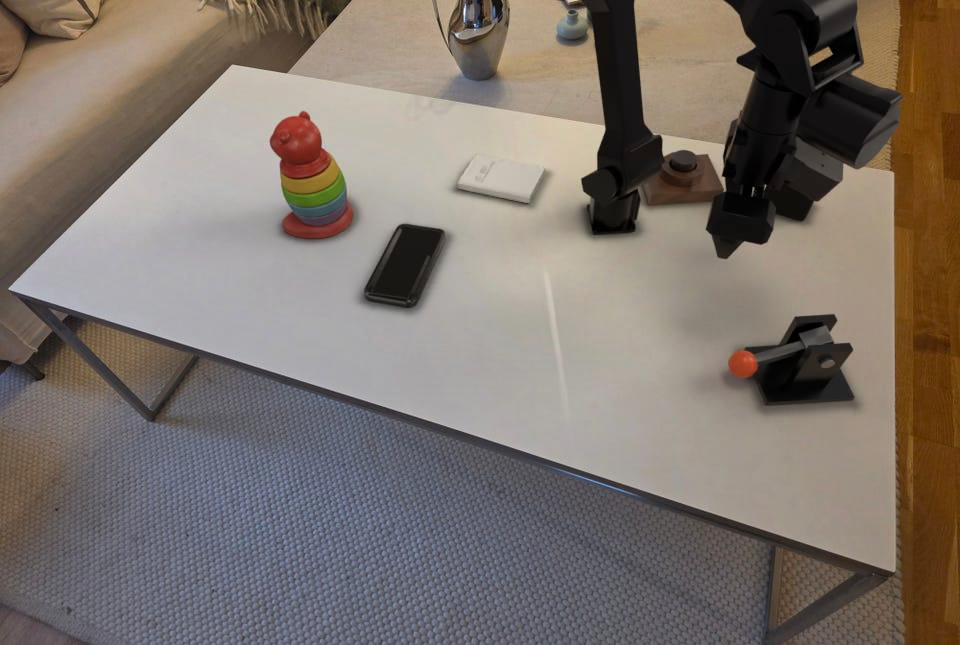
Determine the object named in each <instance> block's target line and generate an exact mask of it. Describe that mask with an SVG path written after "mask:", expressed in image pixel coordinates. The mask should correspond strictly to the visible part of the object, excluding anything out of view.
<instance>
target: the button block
mask: <svg viewBox="0 0 960 645" xmlns="http://www.w3.org/2000/svg"><path fill="white" fill-rule="evenodd" d="M675 152H676V151H671V152H670V153H668V154H666V155H663V157H664V159H665V163H663V164H662V168H661V172H660V173H659V174H658V175H657V176H656V178H654V179H653V180H651V181H649V182H647V183H646V184H644V185H642V187H643V190H644V193H645V197H646V199H647V202H648V206H663V205H664V206H665V205H677V204H690V203H691V204H692V203H693V204H694V203H705V202H713V199H714V196H716V195H718V194H720V193H723V192H725V188H724V186H723V184H722V182H721V180H720V177H719V175H718V173H717V171H716V169H715V167H714V165H713V162H712V160H711V158H710V155H709V153H702V154H696V156H697V161H696V164H695V168H694V170H693V171H692V172H687V173H681V172H677V171H675V170H673V169H672V168H671V161H672V157H673V154H674V153H675Z"/></svg>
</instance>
